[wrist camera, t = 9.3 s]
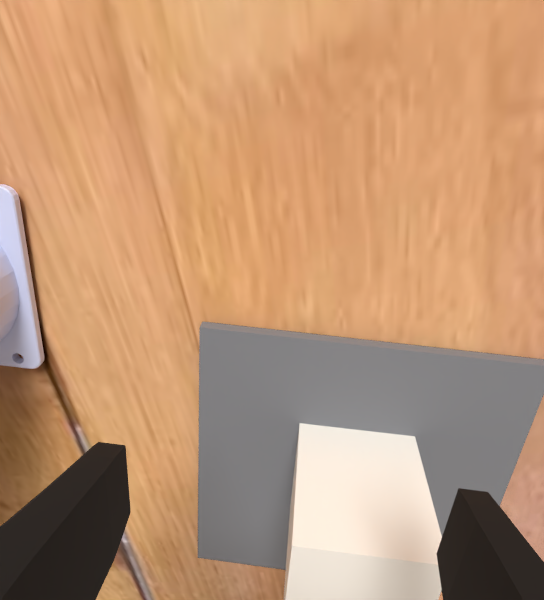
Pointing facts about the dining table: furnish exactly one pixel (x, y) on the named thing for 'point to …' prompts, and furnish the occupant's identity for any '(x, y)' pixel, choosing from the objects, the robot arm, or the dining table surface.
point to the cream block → (360, 519)
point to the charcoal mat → (344, 422)
